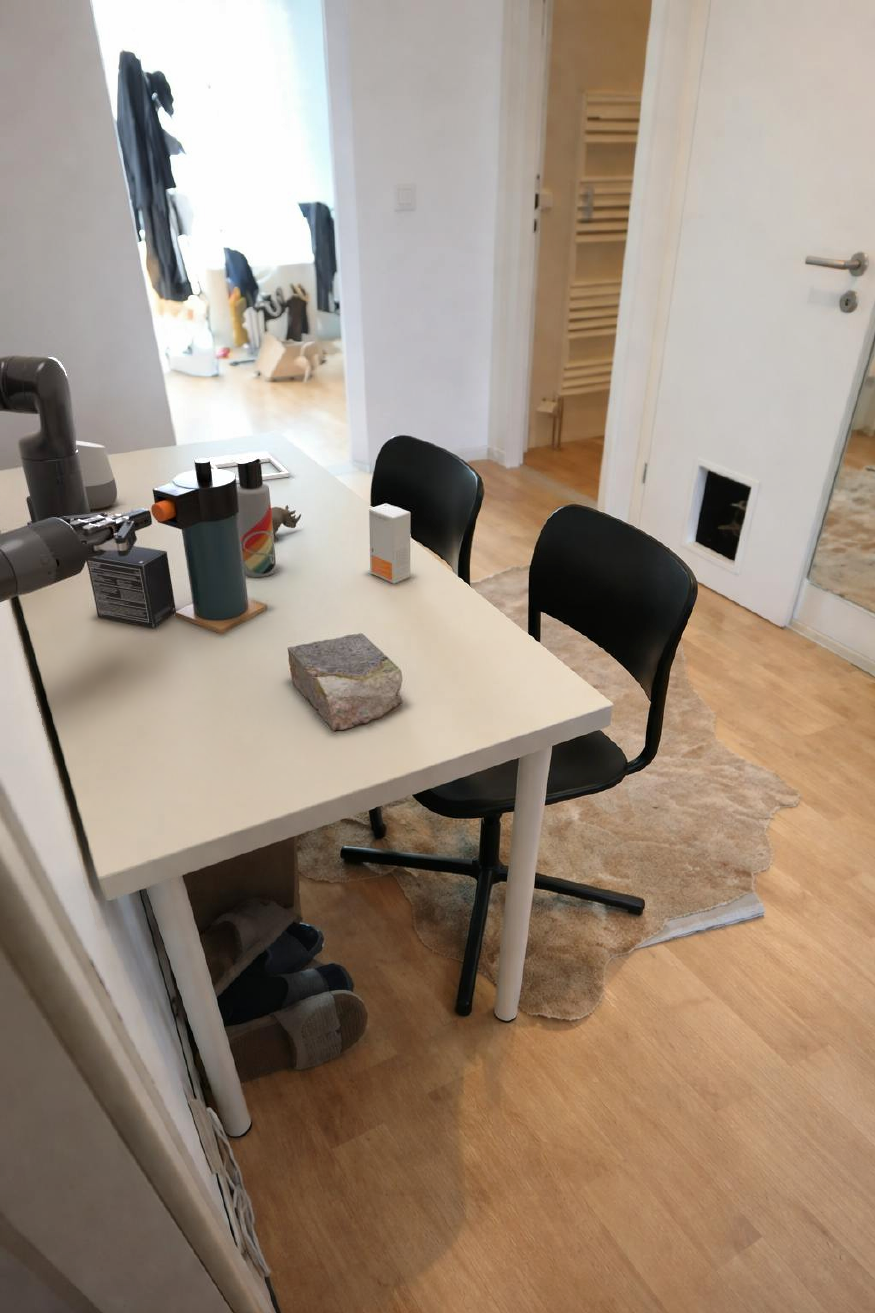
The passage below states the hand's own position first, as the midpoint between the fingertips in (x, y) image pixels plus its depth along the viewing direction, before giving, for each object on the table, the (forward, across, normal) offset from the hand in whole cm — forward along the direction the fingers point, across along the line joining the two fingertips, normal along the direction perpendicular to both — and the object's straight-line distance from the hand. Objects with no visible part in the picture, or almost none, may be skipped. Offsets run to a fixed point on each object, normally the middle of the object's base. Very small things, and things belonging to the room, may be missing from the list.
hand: (147, 516), depth 112 cm
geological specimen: (+4, +31, -20) cm, 37 cm away
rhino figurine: (+38, -15, -19) cm, 45 cm away
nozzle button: (+3, 0, -1) cm, 3 cm away
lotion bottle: (+26, -6, -20) cm, 33 cm away
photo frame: (+65, -48, -19) cm, 83 cm away
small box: (+3, -10, -20) cm, 22 cm away
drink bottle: (+9, 0, -18) cm, 21 cm away
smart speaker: (+30, -56, -19) cm, 66 cm away
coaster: (+11, 0, -19) cm, 22 cm away
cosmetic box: (+37, +14, -20) cm, 44 cm away
